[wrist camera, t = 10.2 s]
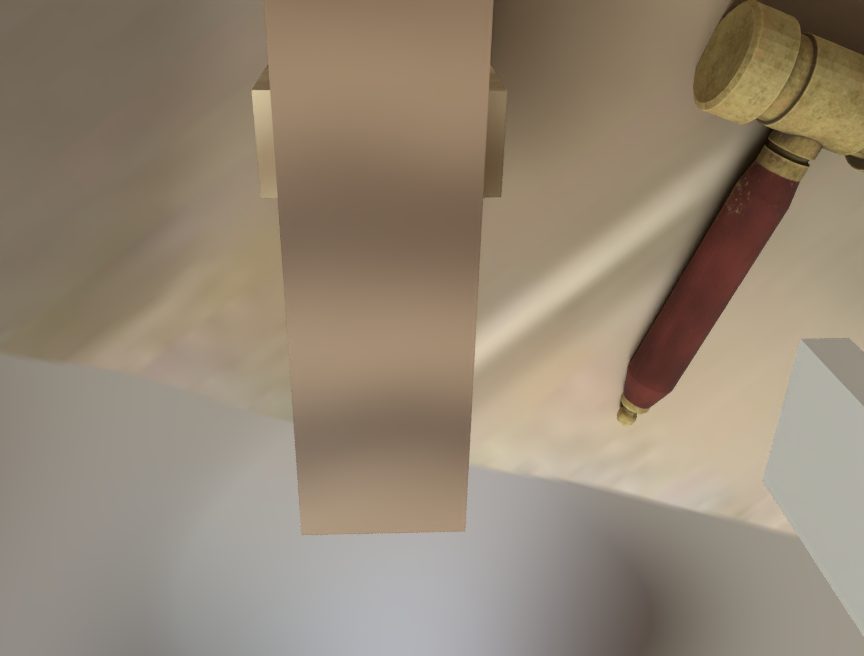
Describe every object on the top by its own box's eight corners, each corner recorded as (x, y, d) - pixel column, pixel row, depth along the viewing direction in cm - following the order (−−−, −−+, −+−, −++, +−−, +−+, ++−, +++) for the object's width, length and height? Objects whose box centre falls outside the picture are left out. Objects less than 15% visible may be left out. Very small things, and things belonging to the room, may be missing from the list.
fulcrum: (277, -76, 32) (238, -62, 23) (479, -72, 33) (516, -58, 24) (296, 213, 38) (270, 312, 29) (468, 213, 38) (494, 309, 29)
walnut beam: (283, -227, 22) (244, -272, 15) (471, -220, 22) (507, -263, 16) (317, 406, 31) (301, 535, 25) (448, 404, 31) (465, 531, 25)
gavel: (717, 474, 43) (544, 426, 41) (690, 420, 47) (531, 373, 45) (986, 99, 33) (774, 10, 31) (924, 70, 37) (732, -11, 34)
